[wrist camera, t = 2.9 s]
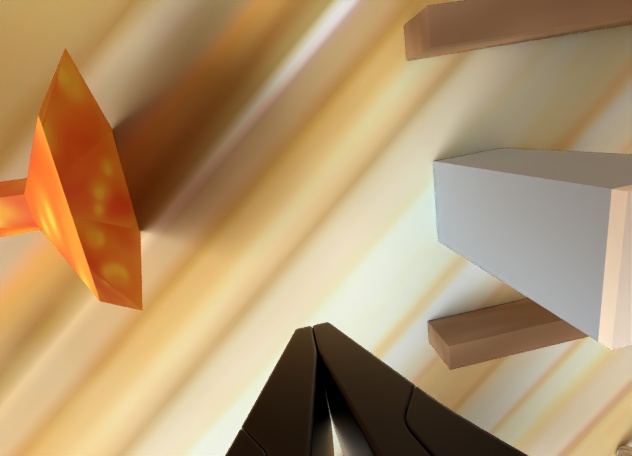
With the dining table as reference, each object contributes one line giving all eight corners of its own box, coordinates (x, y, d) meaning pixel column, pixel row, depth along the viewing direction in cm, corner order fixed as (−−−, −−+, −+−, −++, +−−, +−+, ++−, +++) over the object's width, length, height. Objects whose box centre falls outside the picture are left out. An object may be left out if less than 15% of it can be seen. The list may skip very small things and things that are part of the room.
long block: (504, 227, 19) (738, 319, 9) (438, 240, 19) (611, 350, 9) (503, 148, 18) (773, 161, 8) (432, 161, 17) (628, 191, 8)
